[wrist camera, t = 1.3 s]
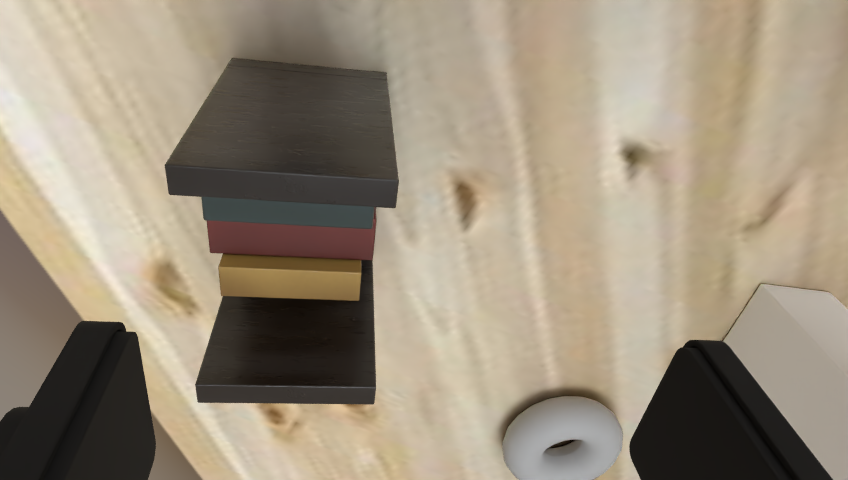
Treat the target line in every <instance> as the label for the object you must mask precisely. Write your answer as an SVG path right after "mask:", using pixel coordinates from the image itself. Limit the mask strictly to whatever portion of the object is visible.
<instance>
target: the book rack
mask: <svg viewBox="0 0 848 480" xmlns="http://www.w3.org/2000/svg"><path fill="white" fill-rule="evenodd" d="M165 170H166V177H167V184H168V191H169V194H170V195H182V196H199V197H201V198H202V208H203V218H204V220H207V228H208V238H209V248H210V253H223V255H222V258H221V261H220V264H219V267H218V268H219V279H220V290H221V296H223V298H222V301H221V304H220V307H219V310H218V314H217V317H216V320H215V323H214V327H213V330H212V333H211V336H210V339H209V343H208V346H207V349H206V352H205V355H204V359H203V362H202V365H201V368H200V371H199V375H198V378H197V381H196V384H195V386H196V393H197V400H198V402H199V403H294V404H374V401H375V392H376V369H375V332H374V295H373V251H374V240H375V229H376V207H384V208H395V207H396V202H397V193H398V184H399V178H398V169H397V161H396V152H395V143H394V134H393V125H392V117H391V108H390V99H389V90H388V81H387V73H385V72H374V71H363V70H352V69H341V68H331V67H320V66H309V65H298V64H288V63H277V62H266V61H255V60H245V59H234V58H232V59H231V60H230V62H229V63H228V65H227V67H226V68H225V70H224V72H223V73H222V75H221V76H220V78H219V80H218V81H217V83H216V84H215V86H214V87H213V89H212V91H211V92H210V94H209V95H208V97H207V99H206V100H205V102H204V103H203V105H202V107H201V108H200V110H199V111H198V113H197V115H196V116H195V118H194V119H193V121H192V123H191V124H190V126H189V127H188V129H187V130H186V132H185V134H184V135H183V137H182V138H181V140H180V142H179V143H178V145H177V146H176V148H175V150H174V151H173V153H172V154H171V156H170V158H169V159H168V161H167V162H166V164H165Z"/></svg>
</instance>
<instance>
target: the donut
mask: <svg viewBox="0 0 848 480" xmlns="http://www.w3.org/2000/svg"><path fill="white" fill-rule="evenodd" d="M622 439H623V432H622V428H621V426H620V424H619V422H618V420H617V418H616V416H615V415H614V413H613V412H612V411H611V410H609V409H608V408H607V407H605V406H604V405H603V404H601V403H600V402H598V401H595V400H592V399H588V398H585V397H579V396H562V397H556V398H550V399H547V400H544V401H542V402H539V403H537V404H534V405H532V406H530V407H529V408H528V409H526V410H525V411H523V412H522V413H520V414H519V415H518V416H517V417H516V418H515V419H514V421H513V422H512V423H511V424H510V425H509V427H508V429H507V431H506V434H505V437H504V440H503V443H502V446H503V455H504V461H505V463H506V465H507V467H508V468H509V470H510V471H511V472H512V474H513V475H514V476H515V477H516V478H517V479H519V480H594V479H595V478H597V477H599V476H600V475H602V474H604V473H605V472H606V471H607V470H608V469H609V468H610V467H611V466H612V465H613V464H614V462H615V461H616V459H617V457H618V455H619V453H620V451H621V449H622ZM567 440H575V441H573V442H572V443H570V444H567V445H565V446H562V447H556V448H549V447H550V446H552V445H554V444H556V443H559V442H561V441H567Z"/></svg>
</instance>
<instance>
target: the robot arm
mask: <svg viewBox="0 0 848 480" xmlns="http://www.w3.org/2000/svg"><path fill="white" fill-rule="evenodd" d="M155 445H156V442H155V435H154V429H153V423H152V417H151V411H150V405H149V400H148V394H147V388H146V382H145V376H144V371H143V365H142V359H141V353H140V347H139V341H138V337H137V334H136V333H135V332H126V329H125V326H124V324H123V323H121V322H98V321H82V322H80V323H79V324H78V325H77V326H76V328H75V329H74V331H73V332H72V334H71V336H70V338H69V339H68V341H67V343H66V345H65V346H64V348H63V350H62V352H61V353H60V355H59V357H58V358H57V360H56V362H55V363H54V365H53V367H52V369H51V371H50V372H49V374H48V376H47V377H46V379H45V381H44V382H43V384H42V386H41V388H40V389H39V391H38V393H37V394H36V396H35V398H34V400H33V401H32V403H31V405H30V407H17V408H13V409H12V410H11V411H9V412H8V413H6V415H5V416H4V417H3V419H2V420H1V421H0V480H148V477H149V474H150V471H151V468H152V465H153V461H154V456H155V449H156V446H155ZM630 456H631V459H632V462H633V464H634V466H635V468H636V470H637V472H638V474H639V477H640V479H641V480H833V479H832V478H831V476H830V475H829V474H828V472H827V471H826V470H825V469H824V467H823V466H822V465H821V463H820V462H819V461H818V460H817V458H816V457H815V456H814V454H813V453H812V452H811V451H810V449H809V448H808V447H807V446H806V444H805V443H804V442H803V440H802V439H801V438H800V437H799V435H798V434H797V433H796V431H795V430H794V429H793V428H792V426H791V425H790V424H789V422H788V421H787V420H786V419H785V417H784V416H783V415H782V413H781V412H780V411H779V410H778V408H777V407H776V406H775V404H774V403H773V402H772V401H771V399H770V398H769V397H768V395H767V394H766V393H765V392H764V390H763V389H762V388H761V386H760V385H759V384H758V383H757V381H756V380H755V379H754V377H753V376H752V375H751V374H750V372H749V371H748V370H747V368H746V367H745V366H744V365H743V363H742V362H741V361H740V359H739V358H738V357H737V356H736V354H735V353H734V352H733V350H732V349H731V348H730V347H729V346H728V345H727V344H726V343H725V342H722V341H710V340H690V341H688V342H687V343H686V344H685V345H684V346H683V348H680V349H678V350H677V352H676V353H675V355H674V357H673V359H672V361H671V363H670V365H669V367H668V369H667V370H666V372H665V374H664V376H663V378H662V380H661V382H660V384H659V386H658V388H657V390H656V392H655V394H654V396H653V398H652V400H651V402H650V403H649V405H648V407H647V409H646V411H645V413H644V415H643V417H642V419H641V421H640V423H639V425H638V427H637V429H636V431H635V433H634V434H633V436H632V438H631V441H630Z"/></svg>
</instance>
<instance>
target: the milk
mask: <svg viewBox="0 0 848 480" xmlns="http://www.w3.org/2000/svg"><path fill="white" fill-rule="evenodd" d="M723 342H725V343H726V344H727V345H728V346H729V347H730V348H731V349H732V350H733V352H734V353H735V354H736V356H737V357H738V358H739V359H740V361H741V362H742V363H743V365H744V366H745V367H746V368H747V370H748V371H749V372H750V374H751V375H752V376H753V377H754V379H755V380H756V381H757V383H758V384H759V385H760V386H761V388H762V389H763V390H764V392H765V393H766V394H767V395H768V397H769V398H770V399H771V401H772V402H773V403H774V404H775V406H776V407H777V408H778V410H779V411H780V412H781V413H782V415H783V416H784V417H785V419H786V420H787V421H788V422H789V424H790V425H791V426H792V428H793V429H794V430H795V431H796V433H797V434H798V435H799V437H800V438H801V439H802V440H803V442H804V443H805V444H806V446H807V447H808V448H809V449H810V451H811V452H812V453H813V454H814V456H815V457H816V458H817V460H818V461H819V462H820V463H821V465H822V466H823V467H824V469H825V470H826V471H827V472H828V474H829V475H830V476H831V478H832V479H833V480H848V309H847V308H846V307H845V306H844V305H843V304H842V303H841V302H840V301H838V300H837V299H836V298H835V297H834V296H833V295H832V294H831V293H830V292H825V291H817V290H809V289H800V288H792V287H784V286H776V285H768V284H761V285H760V286H759V288H758V289H757V291H756V292H755V294H754V295H753V297H752V298H751V300H750V301H749V303H748V304H747V306H746V307H745V309H744V310H743V312H742V313H741V315H740V316H739V318H738V319H737V321H736V322H735V324H734V325H733V327H732V328H731V330H730V331H729V333H728V335H727V336H726V338H725V339H724V341H723Z"/></svg>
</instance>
